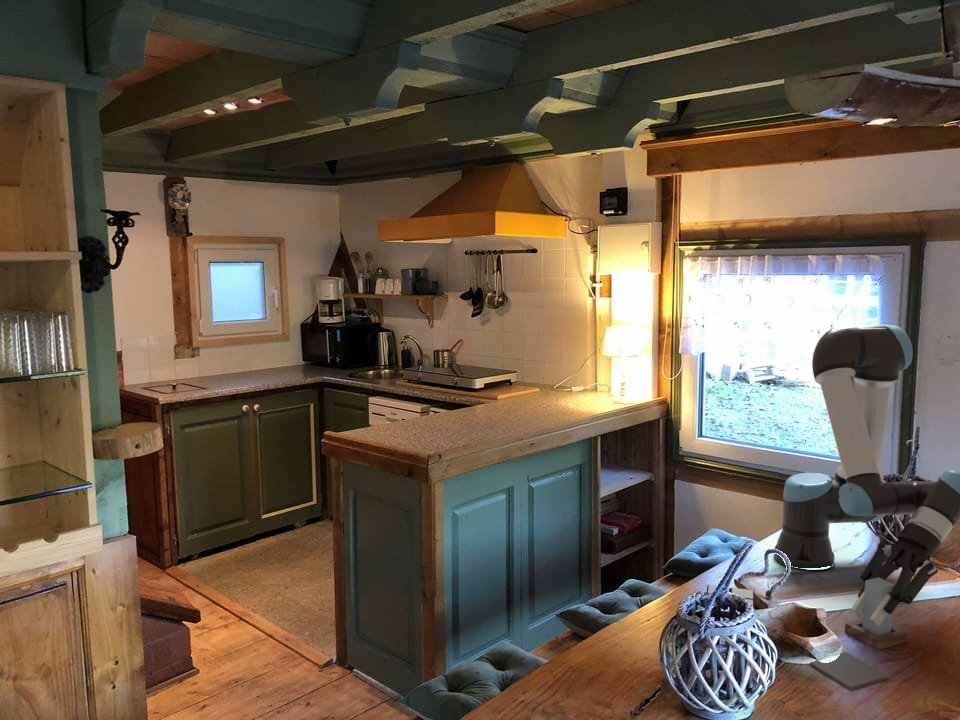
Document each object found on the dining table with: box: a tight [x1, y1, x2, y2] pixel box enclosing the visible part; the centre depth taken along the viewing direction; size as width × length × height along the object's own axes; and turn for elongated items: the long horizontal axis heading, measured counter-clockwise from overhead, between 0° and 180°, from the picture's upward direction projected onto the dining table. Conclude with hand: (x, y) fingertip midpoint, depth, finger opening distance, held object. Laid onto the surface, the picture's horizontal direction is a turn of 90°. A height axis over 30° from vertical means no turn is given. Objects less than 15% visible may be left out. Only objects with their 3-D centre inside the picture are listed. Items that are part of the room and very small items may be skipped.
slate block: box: [862, 577, 895, 636], centre depth 168 cm, size 4×4×11 cm
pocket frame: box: [844, 618, 909, 651], centre depth 169 cm, size 9×9×2 cm
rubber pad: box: [809, 651, 889, 691], centre depth 156 cm, size 10×10×1 cm
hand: (864, 617), depth 167 cm, fingers closed on slate block, 4 cm apart
